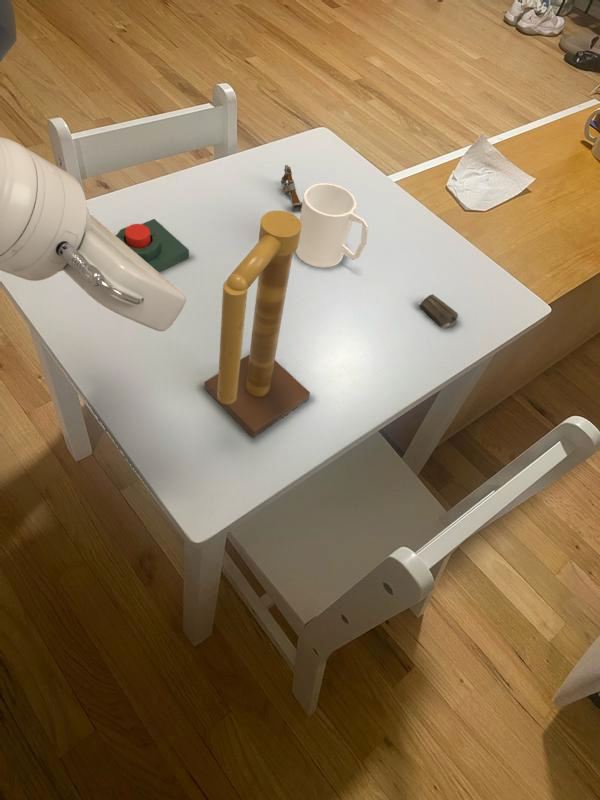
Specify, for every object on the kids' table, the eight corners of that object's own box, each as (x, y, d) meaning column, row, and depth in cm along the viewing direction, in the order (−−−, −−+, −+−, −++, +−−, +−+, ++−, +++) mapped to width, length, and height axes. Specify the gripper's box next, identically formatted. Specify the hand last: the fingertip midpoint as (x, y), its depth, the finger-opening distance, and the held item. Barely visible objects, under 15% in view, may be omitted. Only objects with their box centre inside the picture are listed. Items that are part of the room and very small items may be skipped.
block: (429, 299, 97) (433, 291, 95) (459, 320, 95) (463, 312, 94) (416, 309, 95) (419, 301, 94) (446, 331, 93) (450, 323, 92)
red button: (135, 251, 89) (134, 242, 88) (121, 238, 90) (120, 229, 89) (155, 243, 91) (154, 233, 90) (141, 230, 92) (140, 220, 91)
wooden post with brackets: (285, 176, 109) (292, 161, 105) (297, 216, 108) (304, 203, 104) (276, 177, 109) (282, 162, 104) (287, 217, 108) (294, 204, 103)
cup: (341, 287, 96) (354, 237, 88) (284, 248, 99) (292, 196, 91) (370, 264, 100) (386, 214, 92) (315, 228, 103) (326, 176, 95)
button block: (123, 289, 89) (121, 271, 86) (89, 255, 92) (86, 236, 89) (189, 258, 95) (188, 240, 92) (154, 227, 98) (153, 209, 95)
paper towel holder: (253, 438, 77) (274, 294, 56) (204, 388, 80) (207, 236, 60) (308, 399, 82) (346, 253, 61) (260, 353, 85) (281, 202, 65)
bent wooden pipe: (257, 328, 74) (272, 205, 60) (285, 341, 74) (308, 220, 59) (206, 395, 67) (210, 274, 53) (237, 411, 67) (250, 292, 52)
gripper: (129, 250, 40) (236, 305, 53) (-17, 126, 49) (105, 198, 61) (80, 327, 41) (196, 362, 54) (-54, 192, 50) (73, 250, 62)
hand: (147, 274), depth 57 cm, fingers open, 8 cm apart
